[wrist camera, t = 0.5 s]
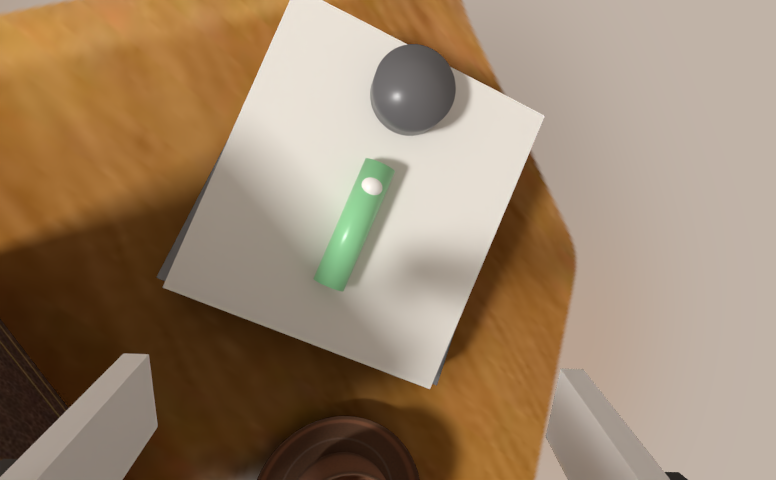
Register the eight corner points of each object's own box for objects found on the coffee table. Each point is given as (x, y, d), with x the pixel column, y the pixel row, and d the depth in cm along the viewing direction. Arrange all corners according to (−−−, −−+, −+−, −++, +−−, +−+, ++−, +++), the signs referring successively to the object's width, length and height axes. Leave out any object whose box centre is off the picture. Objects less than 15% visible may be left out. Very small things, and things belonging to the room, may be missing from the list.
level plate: (424, 381, 30) (438, 403, 26) (171, 283, 27) (147, 293, 23) (534, 121, 30) (563, 106, 27) (297, -1, 27) (293, -35, 24)
